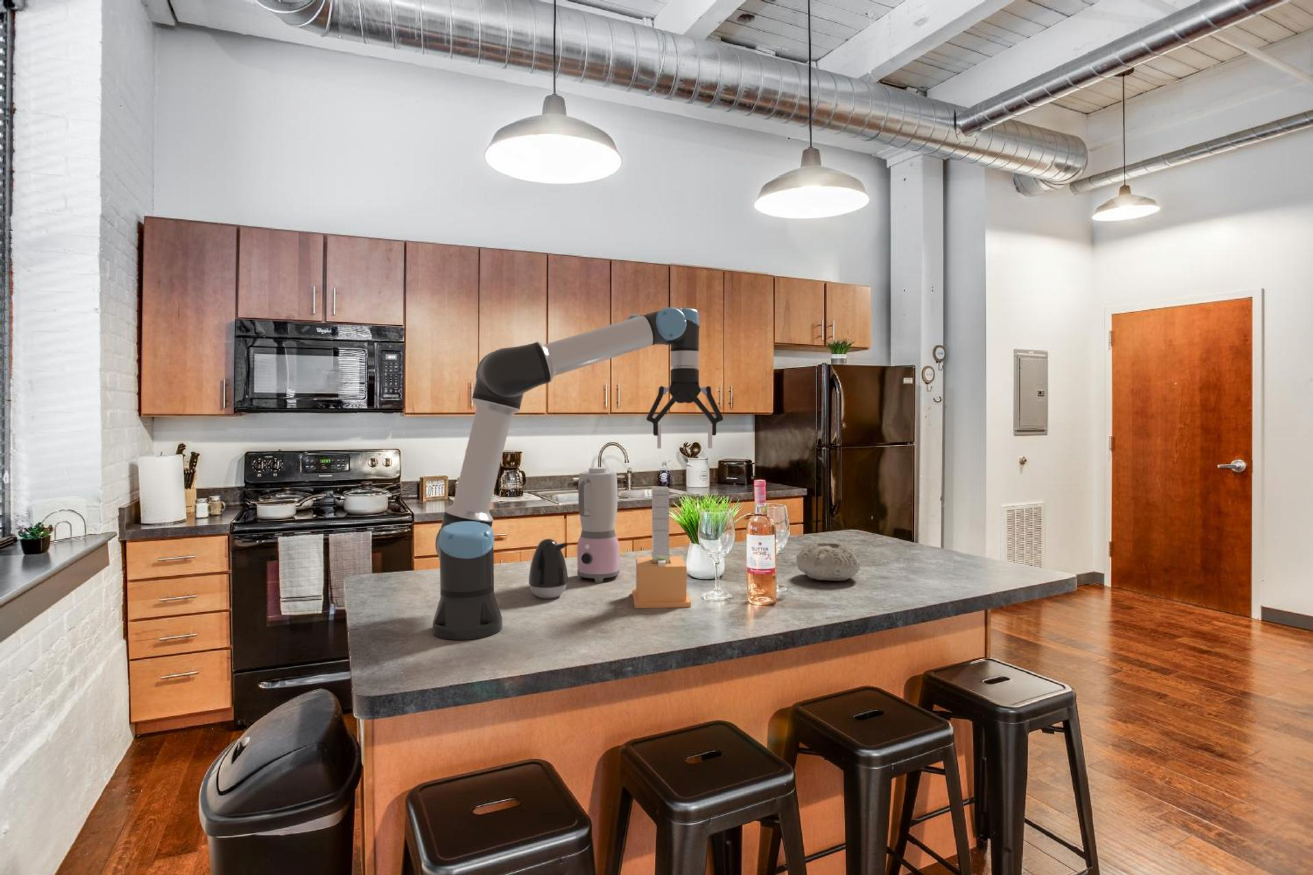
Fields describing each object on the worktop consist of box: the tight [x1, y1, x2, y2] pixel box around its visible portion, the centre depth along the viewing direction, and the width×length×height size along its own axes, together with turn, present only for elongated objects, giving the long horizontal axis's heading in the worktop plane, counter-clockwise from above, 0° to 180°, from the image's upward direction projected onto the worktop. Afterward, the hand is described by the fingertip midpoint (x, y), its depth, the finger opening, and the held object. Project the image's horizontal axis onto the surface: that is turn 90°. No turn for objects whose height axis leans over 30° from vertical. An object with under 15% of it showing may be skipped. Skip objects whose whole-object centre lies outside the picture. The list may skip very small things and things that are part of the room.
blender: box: [576, 466, 620, 583], centre depth 208 cm, size 16×12×32 cm
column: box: [650, 486, 671, 564], centre depth 185 cm, size 6×4×22 cm
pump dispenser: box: [528, 538, 569, 600], centre depth 189 cm, size 10×10×15 cm
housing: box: [631, 555, 692, 609], centre depth 185 cm, size 14×14×11 cm
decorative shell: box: [796, 541, 861, 582], centre depth 208 cm, size 18×18×10 cm
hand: (684, 448), depth 191 cm, fingers open, 13 cm apart
